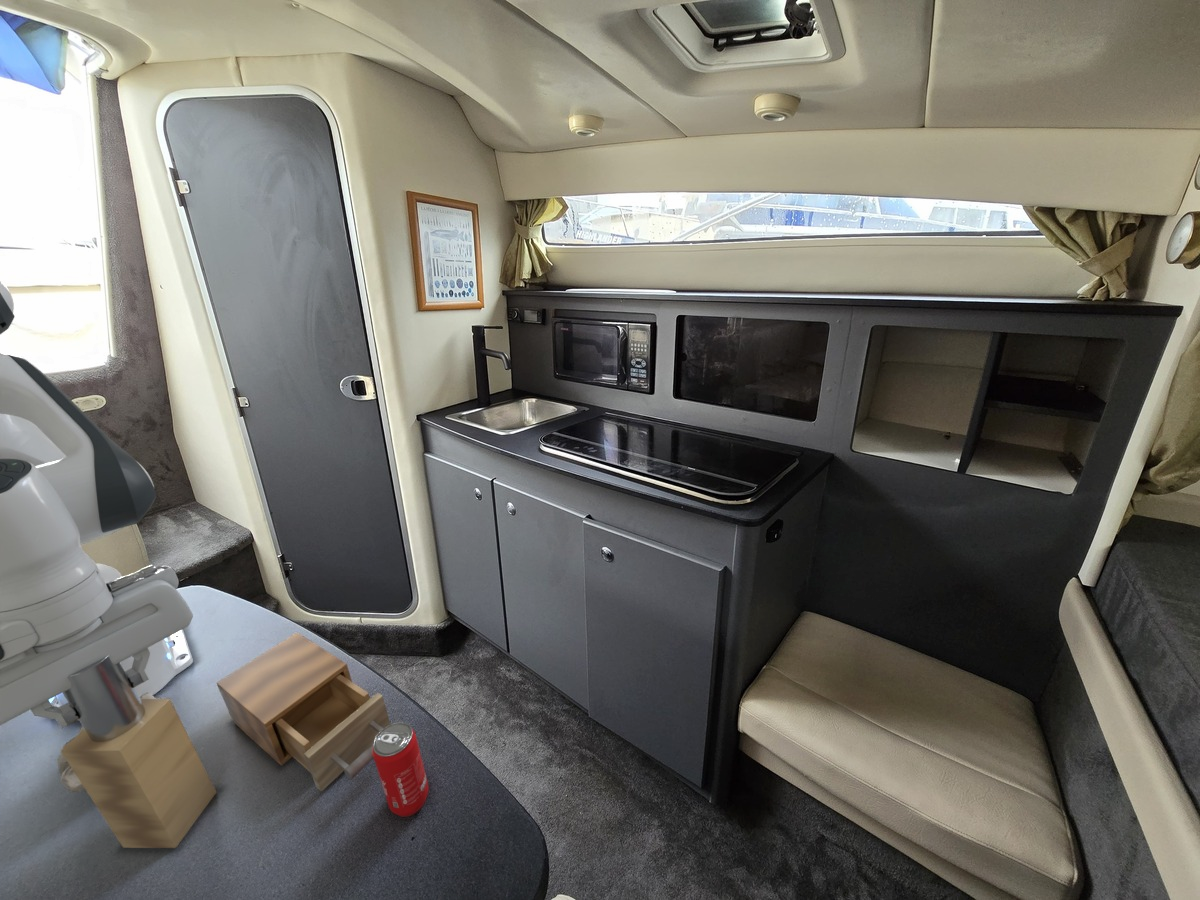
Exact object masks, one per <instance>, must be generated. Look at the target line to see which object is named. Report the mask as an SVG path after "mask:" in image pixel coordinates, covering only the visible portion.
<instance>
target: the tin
mask: <svg viewBox="0 0 1200 900" xmlns="http://www.w3.org/2000/svg"><path fill="white" fill-rule="evenodd" d="M67 678H68V680H69V681H70V683H71V688H70V689H68V690H66V691H64V692H63V695H64V696H65V698H66V699H67V701H68V703H69V704H70V706H71V707H72V708H73V709H74V711H75V712H76V714H77V716H78V717H79V720H78V721H79V722H80V725H81V727H82V726H83V727H84V729H85V731H86V732H87V734H88V736H89V737H90V739H91V740H92V741H95V742H103V741H108V740H111V739H114V738H116V737H118V736H120V735H122V734H124V733H126V732H127V731H129V730H130V729H132V728H133V727H134V726H135V725H136V724H137V723H138V722H139V721H140V720H141V719H142V718H143V716H144V714H145V708H144V706H143V704H142V702H141V700H140V698H139V697H138V695H137V693H136V691H135V689H134V687H133V685H132V683H131V681H130V680H129V678H128V676H127V674H126V672H125V670H124V668H123V666H122V664H121V663H118V664H116V665H114V664H113V663H112V662H111V660H110V658H109V656H107V657H105V658H103V659H101V660H99V661H97V662H95V663H93V664H91V665H89V666H87V667H85V668H83V669H81V670H79V671H77V672H75V673H73V674H71V675H69V676H68V677H67Z"/></svg>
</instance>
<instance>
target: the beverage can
mask: <svg viewBox="0 0 1200 900" xmlns="http://www.w3.org/2000/svg"><path fill="white" fill-rule="evenodd" d="M390 724H391V725H388V726H387V727H385V728H384V729H382V730H381V731H380V732H379V734H378V735H377V736H376V738H375V740H374V744H373V757H374V759H373V760H374V763H375V766H376V769H377V772H378V776H379V779H380V783H381V786H382V789H383V792H384V796H385V799H386V802H387V806H388V809H389V810H390V811H391V812H392V813H393V814H395V815H397V817H401V818H408V817H410V816H413V815H415V814H417V813H418V812H419V811H420V810H421V809H422V808H423V807H424V805H425V804H426V800H427V796H428V794H429V783H428V779H427V778H428V777H427V774H426V771H425V767H424V762H423V759H422V754H421V751H420V747H419V743H418V739H417V735H416V731H415V730H414V728H412V727H411V725H410V724H408V723H407V722H403V721H400V722H398V721H397V722H394V723H390Z"/></svg>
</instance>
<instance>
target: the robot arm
mask: <svg viewBox="0 0 1200 900" xmlns="http://www.w3.org/2000/svg"><path fill="white" fill-rule="evenodd" d="M14 308H15V305H14V299H13V296H12V293H11V292H10V290H9V287H8V286H7V285H6V284H5V283H4V282H3V281H2V279H1V278H0V335H2V334H3V333H5V332H6V331H7V330H8V329H9V328H10V327H11V325H12V324H13V321H14V319H15V318H16V317H15V314H14V310H15V309H14ZM156 499H157V492H156V489H155V485H154V481H153V480H152V477H151V476H150V474H149V472H148V471H147V470H146V469H145V468H144V466H142V464H140V462H139V461H137V460H136V459H135V458H134V457H133V456H132V455H131V454H129V452H127V451H126V450H125V449H123V448H122V447H121V446H119V445H118V444H117V443H116V442H115V441H113V440H112V439H111V438H110V437H109V436H108V435H107V434H106V433H105V432H104V431H103V430H102V429H101V428H100V427H99V426H98V425H97V424H96V423H95V422H94V421H93V420H92V419H91V418H90V417H89V416H88V415H87V414H86V413H85V412H84V411H83V410H82V409H81V408H80V407H79V406H78V405H77V404H76V403H75V402H74V401H72V399H71V398H70V397H69V396H68V395H67V394H66V393H65V392H64V391H63V390H62V389H61V388H59V386H57V384H55V382H53V381H52V380H51V379H50V378H49V377H48V376H47V375H46V374H45V373H44V372H43V371H41V370H40V369H39V368H38V367H37V366H35V365H34V364H33V363H31V362H30V361H29V360H28V359H25V358H24V357H23V356H20V355H16V354H11V353H6V352H2V351H0V726H2V725H4V724H6V723H8V722H9V721H11V720H13V719H16V718H17V717H19V716H21V715H22V714H24V713H27V712H28V711H31V712H32V714H33V716H34V717H39V718H44V719H49V720H55V721H56V722H57V724H58V725H59V727H60V728H61V729H64V728H66V727H68V726H70V725H71V724H73V723H75V722H77V721H79V717H78V716H77V714H76V712H75V711H74V709H73V708H72V707H71V706H70V704H69V703H68V701H67V699H66V698H65V696H64V695H63V692H64V691H66V690H68V689H70V688H71V683H70V681H69V680H68V678H67V677H68V676H69V675H71V674H73V673H75V672H77V671H79V670H81V669H83V668H85V667H87V666H89V665H91V664H93V663H95V662H97V661H99V660H101V659H103V658H105V657H107V656H109V658H110V660H111V662H112V663H113V664H114V665H116V664H118V663H121V664H122V666H123V668H124V670H125V672H126V674H127V676H128V678H129V680H130V681H131V683H132V685H133V687H134V689H135V691H136V693H137V695H138V697H141V696H142V695H143V694H145V693H147V692H148V693H150V694H151V695H152V696H153V697H154V695H156V694H157V693H158V692H160V691H161V690H162V689H163V688H165V686H166V685H167V684H169V683H170V682H171V681H172V679H173V678H175V677H176V676H177V675H178V674H180V673H181V672H183V671H184V670H186V669H187V668H189V667H190V666H191V665H193V662H194V659H193V655H192V653H191V649H190V647H189V643H188V641H187V638H186V634H185V632H184V629H186V628H188V627H189V626H190V625H191V623H192V621H193V618H194V614H193V612H192V610H191V608H190V606H189V604H188V603H187V601H186V600H185V598H184V597H183V596H182V594H181V593H180V592H179V591H178V590H177V589H178V587H179V584H180V583H179V582H180V581H179V576H178V575H177V573H176V570H175V569H174V568H173V567H171V565H166V564H159V565H155V564H150V565H147V566H144V567H142V568H140V569H139V570H137V571H135V572H132V573H130V574H126V575H124V576H122V574H121V572H120V571H119V570H118V569H116V568H115V567H113V566H110V565H108V564H104V563H96V562H95V561H94V559H93V558H92V557H91V556H90V555H89V554H87V552H85V550H84V549H83V547H82V546H84V545H86V544H89V543H91V542H94V541H97V540H100V539H102V538H105V537H107V536H110V535H113V534H115V533H117V532H119V531H121V530H123V529H124V528H127V527H130V526H134V525H137V524H138V523H139V522H140V521H141V520H142V519H143V518H144V517H145V515H146V514H147V513H148V512H149V511H150V509H151V508H152V506H153V505H154V503H155V500H156ZM55 698H56V701H54V703H53V704H52V702H53V700H54V699H55Z"/></svg>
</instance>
